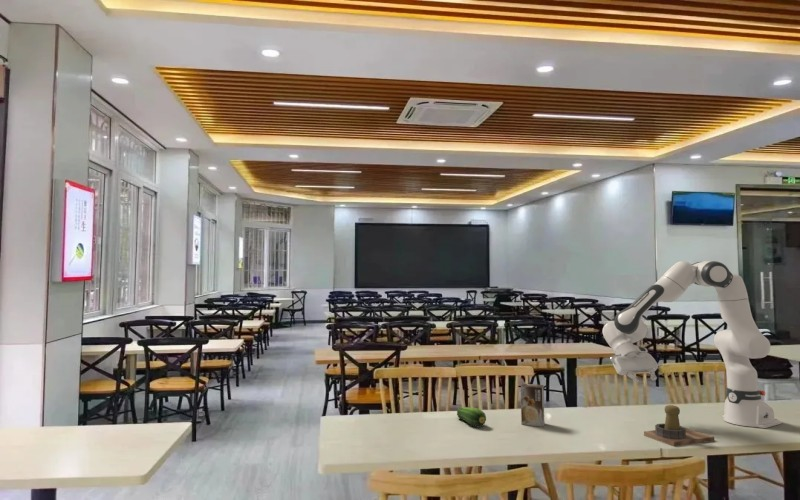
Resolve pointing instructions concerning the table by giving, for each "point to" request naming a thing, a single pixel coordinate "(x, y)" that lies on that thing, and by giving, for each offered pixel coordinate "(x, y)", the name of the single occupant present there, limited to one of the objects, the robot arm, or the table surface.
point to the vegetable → (472, 416)
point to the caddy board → (687, 440)
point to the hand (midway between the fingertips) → (646, 380)
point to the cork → (672, 417)
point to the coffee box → (532, 405)
